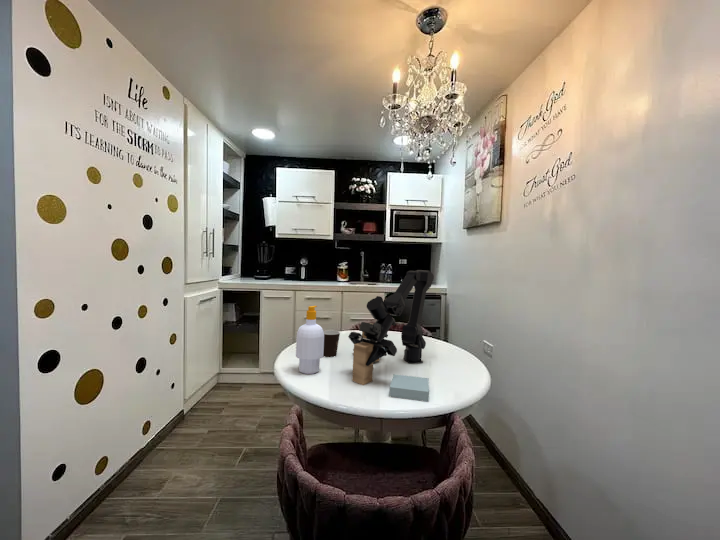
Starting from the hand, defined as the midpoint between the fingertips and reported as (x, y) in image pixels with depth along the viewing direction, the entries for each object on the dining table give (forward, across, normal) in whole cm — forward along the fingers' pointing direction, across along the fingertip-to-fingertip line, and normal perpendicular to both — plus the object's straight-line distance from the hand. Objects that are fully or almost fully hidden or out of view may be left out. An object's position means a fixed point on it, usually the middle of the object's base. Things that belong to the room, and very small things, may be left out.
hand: (360, 363), depth 113 cm
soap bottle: (+9, -20, +1) cm, 22 cm away
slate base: (0, +16, +9) cm, 19 cm away
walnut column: (+4, 0, +6) cm, 7 cm away
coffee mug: (-6, -30, +16) cm, 35 cm away
